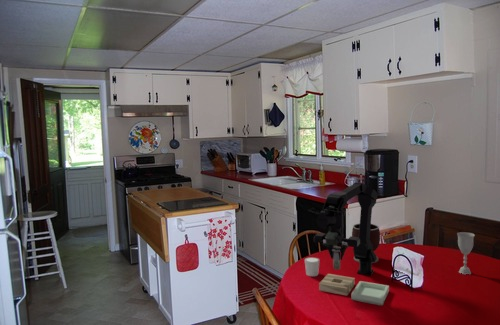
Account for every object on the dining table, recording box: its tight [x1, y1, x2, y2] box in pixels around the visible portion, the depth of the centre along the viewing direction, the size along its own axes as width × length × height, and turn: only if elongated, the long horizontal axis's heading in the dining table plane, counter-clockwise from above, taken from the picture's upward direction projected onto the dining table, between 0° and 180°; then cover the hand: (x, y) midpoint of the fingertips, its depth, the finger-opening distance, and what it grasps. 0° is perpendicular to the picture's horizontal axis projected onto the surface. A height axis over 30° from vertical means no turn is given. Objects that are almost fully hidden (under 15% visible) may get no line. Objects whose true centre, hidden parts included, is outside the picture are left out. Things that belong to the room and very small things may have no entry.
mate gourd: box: [351, 223, 381, 264], centre depth 204 cm, size 16×14×20 cm
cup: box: [304, 256, 320, 277], centre depth 186 cm, size 7×7×7 cm
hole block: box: [318, 273, 356, 296], centre depth 170 cm, size 12×12×3 cm
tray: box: [350, 280, 390, 306], centre depth 162 cm, size 14×12×2 cm
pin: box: [331, 245, 341, 271], centre depth 169 cm, size 4×4×9 cm
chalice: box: [456, 231, 475, 275], centre depth 181 cm, size 7×7×18 cm
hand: (336, 259), depth 169 cm, fingers closed on pin, 4 cm apart
